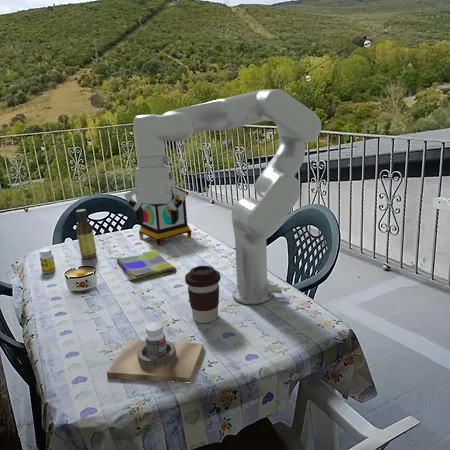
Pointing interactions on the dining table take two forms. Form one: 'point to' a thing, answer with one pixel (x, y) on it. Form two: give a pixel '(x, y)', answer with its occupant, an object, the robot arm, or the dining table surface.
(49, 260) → the supplement bottle
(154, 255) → the dish towel
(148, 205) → the decorative lantern
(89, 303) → the dining table surface
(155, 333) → the pill bottle
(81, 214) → the sauce bottle
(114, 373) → the ring jig
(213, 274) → the coffee cup
